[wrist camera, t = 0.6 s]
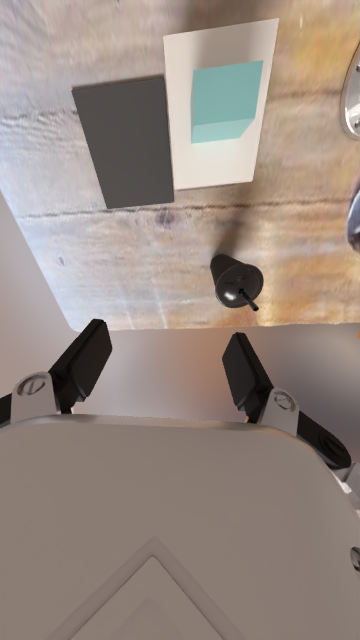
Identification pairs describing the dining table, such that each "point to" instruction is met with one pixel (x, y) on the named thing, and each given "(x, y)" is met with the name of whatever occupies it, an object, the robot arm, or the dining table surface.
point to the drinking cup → (236, 282)
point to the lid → (217, 100)
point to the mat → (128, 141)
